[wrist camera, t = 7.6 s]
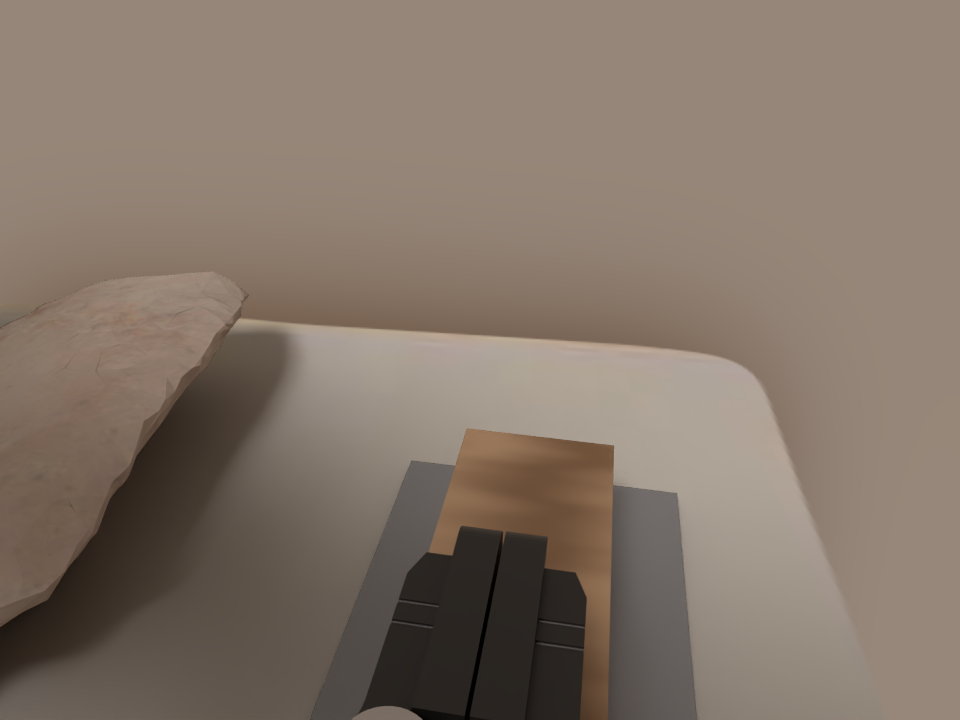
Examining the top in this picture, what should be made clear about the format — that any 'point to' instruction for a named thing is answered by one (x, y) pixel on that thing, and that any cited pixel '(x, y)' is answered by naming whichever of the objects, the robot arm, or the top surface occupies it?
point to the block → (544, 522)
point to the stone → (91, 409)
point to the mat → (633, 602)
